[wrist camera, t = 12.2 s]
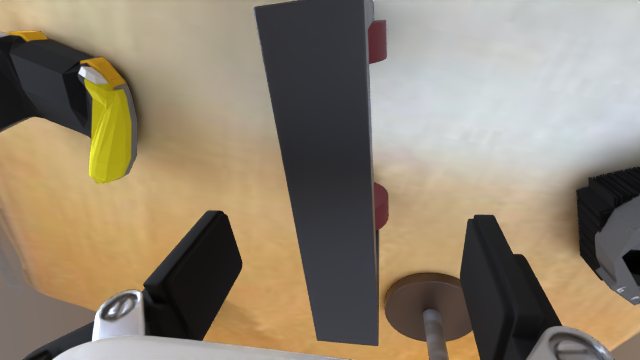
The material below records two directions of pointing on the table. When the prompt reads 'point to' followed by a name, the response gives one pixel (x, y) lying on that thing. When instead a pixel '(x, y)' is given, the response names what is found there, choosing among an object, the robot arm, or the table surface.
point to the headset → (329, 153)
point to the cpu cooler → (612, 230)
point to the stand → (429, 310)
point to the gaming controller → (69, 98)
